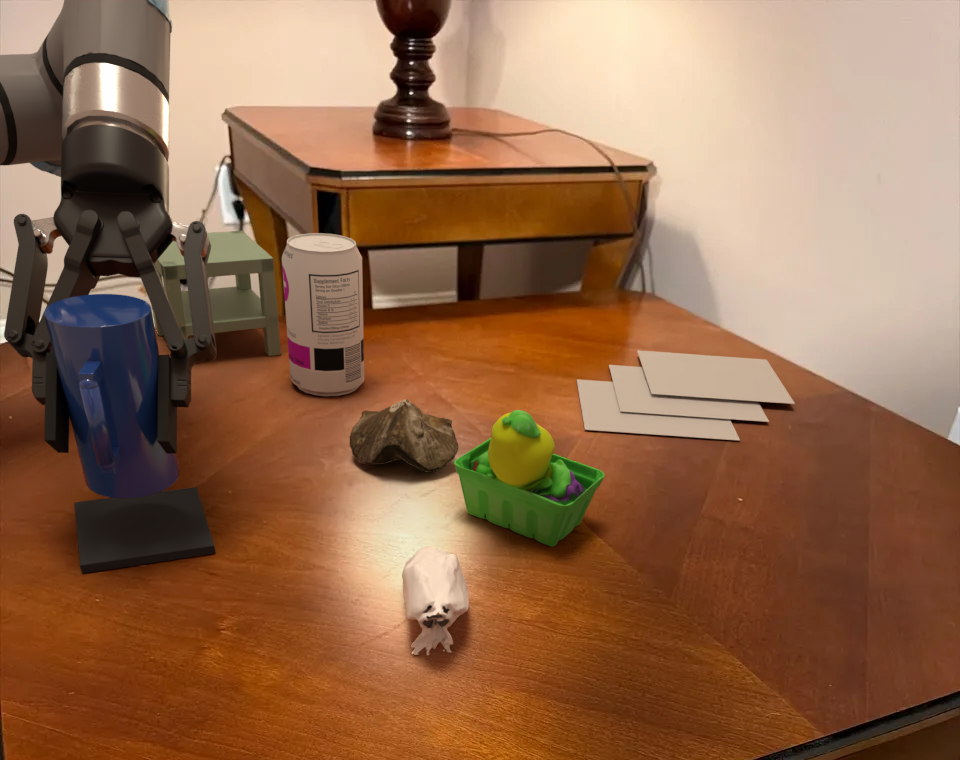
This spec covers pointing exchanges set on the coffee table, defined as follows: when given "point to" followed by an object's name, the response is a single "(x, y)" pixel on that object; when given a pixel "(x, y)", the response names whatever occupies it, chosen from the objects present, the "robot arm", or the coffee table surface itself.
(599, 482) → the fruit basket
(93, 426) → the jug
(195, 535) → the mat
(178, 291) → the side table
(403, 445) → the fossilized seashell
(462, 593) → the white crumpled pouch
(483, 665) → the coffee table surface
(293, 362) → the supplement can
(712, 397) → the paper stack
